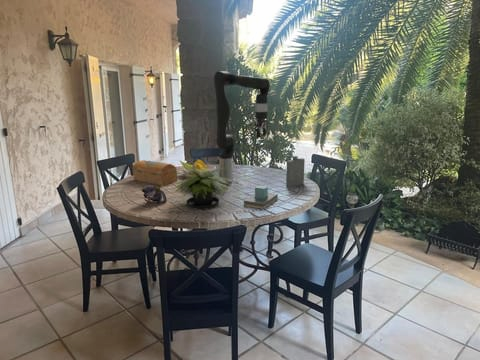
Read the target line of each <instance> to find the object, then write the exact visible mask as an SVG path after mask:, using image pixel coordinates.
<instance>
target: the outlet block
mask: <svg viewBox="0 0 480 360" xmlns="http://www.w3.org/2000/svg"><path fill="white" fill-rule="evenodd" d="M278 195H279V194H278V193H272V192H268V198H267V199H258V198H255V193H254V194H252V195H251V196H249V197H247V198H246V199H244V200H243V206H245V207H250V208H258V209H265V208H266V207H268V206H270V205H271V204H272V203H274V202H276V201H277V200H278V197H279V196H278Z"/></svg>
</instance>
